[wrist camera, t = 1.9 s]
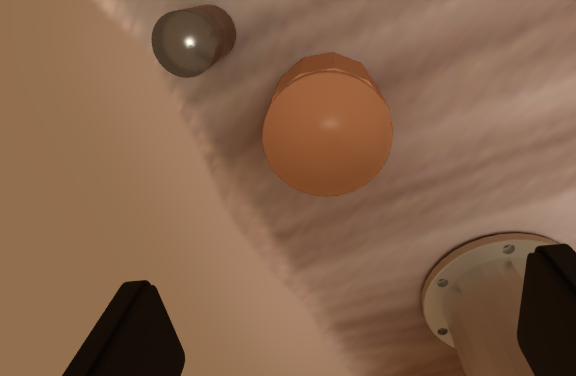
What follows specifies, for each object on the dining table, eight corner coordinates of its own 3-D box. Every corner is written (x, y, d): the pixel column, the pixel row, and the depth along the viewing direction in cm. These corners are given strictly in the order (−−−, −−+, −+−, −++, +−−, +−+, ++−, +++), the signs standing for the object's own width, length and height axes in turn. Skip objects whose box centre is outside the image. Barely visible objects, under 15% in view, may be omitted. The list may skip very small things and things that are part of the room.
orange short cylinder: (382, 148, 27) (396, 188, 22) (284, 161, 28) (276, 202, 23) (374, 44, 24) (388, 62, 19) (264, 64, 25) (249, 86, 20)
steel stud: (241, 54, 25) (221, 71, 20) (194, 62, 26) (163, 82, 21) (228, 0, 24) (203, 4, 19) (179, 10, 24) (142, 17, 19)
